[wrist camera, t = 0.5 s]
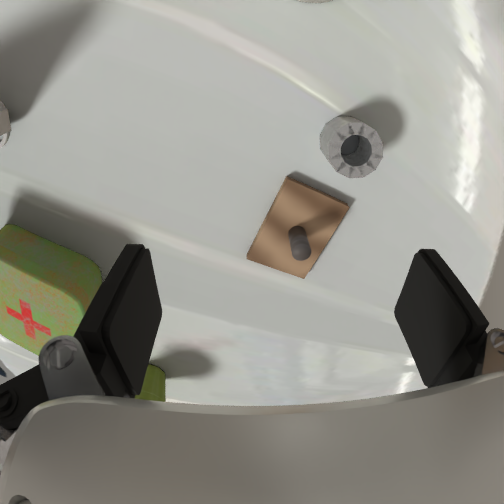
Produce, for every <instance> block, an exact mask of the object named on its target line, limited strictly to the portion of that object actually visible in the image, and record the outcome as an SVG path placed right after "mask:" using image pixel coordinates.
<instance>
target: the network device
mask: <svg viewBox="0 0 504 504" xmlns="http://www.w3.org/2000/svg"><path fill="white" fill-rule="evenodd" d="M9 131H11V125H10V119H9V113H8V109H6V108H5V105H4V104H3V102H2V101H0V136H1V135H3V139H2V141H1V142H0V148H1V147H2V146H4V145H5V144H6V143H7V141H8V138H9Z"/></svg>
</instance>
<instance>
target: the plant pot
mask: <svg viewBox="0 0 504 504" xmlns="http://www.w3.org/2000/svg"><path fill="white" fill-rule="evenodd" d="M135 399H142V400H151V401H161V402H165V373H164V372H163V371H162V370H161V369H160V368H158V367H156V366H153V365H149V364H148V367H147V370H146V374H145V378H144V382H143V386H142V390H141V393H140V395H135Z"/></svg>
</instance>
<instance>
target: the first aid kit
mask: <svg viewBox="0 0 504 504" xmlns="http://www.w3.org/2000/svg"><path fill="white" fill-rule="evenodd" d="M101 284H102V277H101V272H100V269H99V267H98V266H97V265H96V264H95V263H94V262H93V261H92V260H90V259H88V258H87V257H85V256H83V255H81V254H79V253H76V252H74V251H72V250H69V249H67V248H65V247H62V246H60V245H58V244H56V243H53V242H51V241H49V240H47V239H44V238H42V237H40V236H38V235H36V234H33V233H31V232H29V231H27V230H25V229H23V228H21V227H18V226H16V225H12V224H7V225H5V226H4V227H3V228H2V229H1V230H0V334H2V335H3V336H4V337H6V338H7V339H9V340H11V341H12V342H14V343H16V344H18V345H20V346H21V347H23V348H25V349H27V350H29V351H31V352H33V353H35V354H36V355H38V356H39V354H40V351H41V349H42V347H43V346H44V345H45V344H46V343H47V342H48V341H49V340H51V339H53V338H54V337H57V336H60V335H69V336H74V334H75V332H76V330H77V328H78V326H79V324H80V322H81V320H82V318H83V317H84V315H85V313H86V311H87V309H88V307H89V305H90V303H91V302H92V300H93V298H94V296H95V294H96V293H97V291H98V289H99V287H100V285H101Z"/></svg>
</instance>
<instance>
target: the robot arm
mask: <svg viewBox="0 0 504 504" xmlns="http://www.w3.org/2000/svg"><path fill="white" fill-rule="evenodd" d="M298 1H302V2H308V3H323V2H329V1H332V0H298ZM394 314H395V318H396V320H397V322H398V324H399V326H400V329H401V331H402V333H403V335H404V337H405V340H406V342H407V344H408V347H409V349H410V351H411V354H412V356H413V358H414V361H415V363H416V366H417V368H418V371H419V373H420V376H421V378H422V381H423V383H424V385H425V386H428V388H427V389H422V390H417V391H412V392H406V393H401V394H395V395H389V396H382V397H376V398H369V399H361V400H353V401H344V402H333V403H322V404H307V405H287V406H220V405H200V404H185V403H172V402H161V401H151V400H142V399H135V395H140V393H141V390H142V386H143V382H144V378H145V374H146V370H147V367H148V363H149V359H150V356H151V352H152V348H153V345H154V341H155V338H156V334H157V331H158V328H159V324H160V321H161V317H162V307H161V303H160V298H159V294H158V289H157V285H156V280H155V275H154V270H153V265H152V260H151V254H150V251H149V249H145V247H144V245H143V244H127V245H126V246H125V247H124V249H123V251H122V252H121V254H120V256H119V257H118V259H117V261H116V262H115V264H114V266H113V267H112V269H111V271H110V272H109V274H108V276H107V278H106V279H105V281H104V282H103V283H102V284H101V285H100V287H99V289H98V291H97V293H96V294H95V296H94V298H93V300H92V302H91V303H90V305H89V307H88V309H87V311H86V313H85V315H84V317H83V318H82V320H81V322H80V324H79V326H78V328H77V330H76V332H75V334H74V336H69V335H60V336H57V337H54V338H53V339H51V340H49V341H48V342H47V343H46V344H45V345H44V346H43V347H42V349H41V351H40V354H39V365H37V366H35V367H33V368H32V369H30V370H28V371H26V372H24V373H22V374H20V375H18V376H16V377H15V378H13V379H11V380H9V381H7V382H5V383H3V384H1V385H0V504H504V330H502V329H499V328H494V329H491V330H490V331H489V332H488V334H487V333H486V331H485V330H486V328H487V327H488V325H489V322H488V321H487V319H486V318H485V316H484V315H483V313H482V312H481V310H480V309H479V307H478V306H477V304H476V303H475V302H474V300H473V299H472V297H471V296H470V294H469V293H468V292H467V290H466V289H465V288H464V286H463V285H462V283H461V282H460V281H459V279H458V278H457V277H456V275H455V274H454V273H453V272H452V270H451V269H450V268H449V266H448V265H447V264H446V263H445V261H444V260H443V259H442V258H441V256H440V255H439V254H438V253H437V251H436V250H434V249H420V250H419V251H418V253H416V254H415V255H414V258H413V261H412V264H411V266H410V269H409V272H408V275H407V278H406V280H405V283H404V286H403V288H402V291H401V294H400V296H399V299H398V301H397V304H396V306H395V311H394Z"/></svg>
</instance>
